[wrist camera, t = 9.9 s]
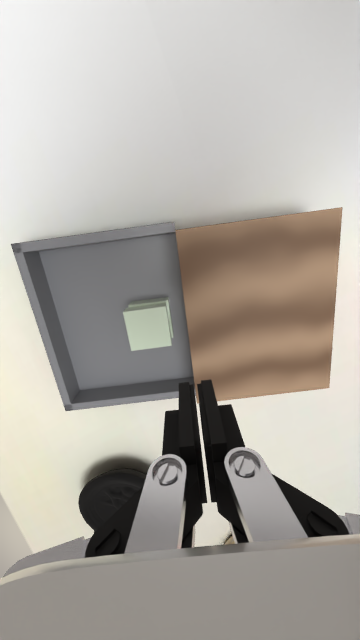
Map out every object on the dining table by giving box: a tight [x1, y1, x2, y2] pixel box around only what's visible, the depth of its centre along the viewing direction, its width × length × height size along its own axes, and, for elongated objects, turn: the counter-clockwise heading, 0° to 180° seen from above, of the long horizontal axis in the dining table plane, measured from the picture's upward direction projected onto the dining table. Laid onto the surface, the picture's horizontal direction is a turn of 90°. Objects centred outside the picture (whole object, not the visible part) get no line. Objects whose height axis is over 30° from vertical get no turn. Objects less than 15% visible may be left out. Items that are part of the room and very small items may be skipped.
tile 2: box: [128, 297, 174, 338], centre depth 31 cm, size 5×5×2 cm
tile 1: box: [123, 302, 172, 351], centre depth 29 cm, size 5×5×2 cm
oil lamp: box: [79, 469, 147, 533], centre depth 41 cm, size 15×20×5 cm
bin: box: [11, 222, 196, 411], centre depth 31 cm, size 22×18×4 cm
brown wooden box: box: [175, 207, 342, 403], centre depth 29 cm, size 20×16×7 cm
